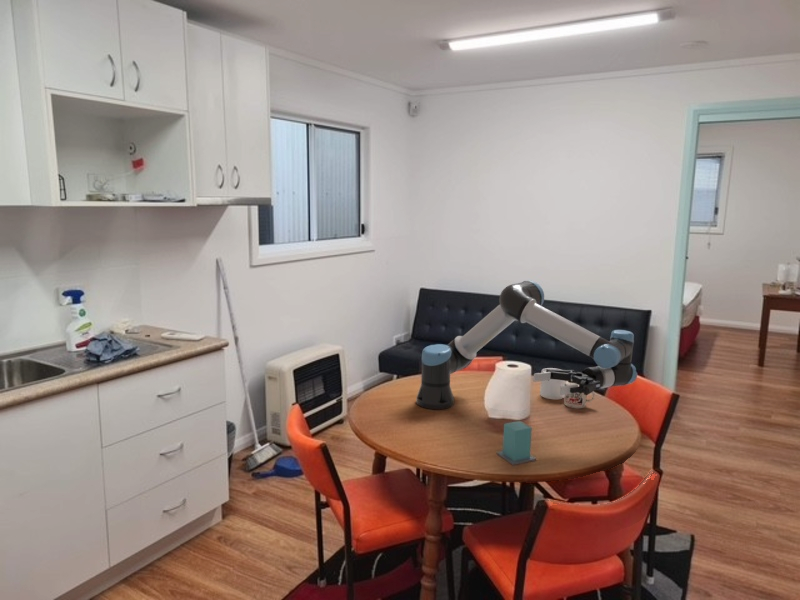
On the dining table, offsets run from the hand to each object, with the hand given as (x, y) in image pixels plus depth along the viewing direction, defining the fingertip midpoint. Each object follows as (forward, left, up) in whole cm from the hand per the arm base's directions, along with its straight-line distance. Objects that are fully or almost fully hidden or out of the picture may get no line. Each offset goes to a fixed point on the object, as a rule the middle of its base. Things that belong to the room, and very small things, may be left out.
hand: (547, 384), depth 186 cm
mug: (-2, +58, -23) cm, 63 cm away
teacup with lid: (+9, +48, -23) cm, 54 cm away
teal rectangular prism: (-7, -10, -22) cm, 25 cm away
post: (-7, -10, -23) cm, 26 cm away
